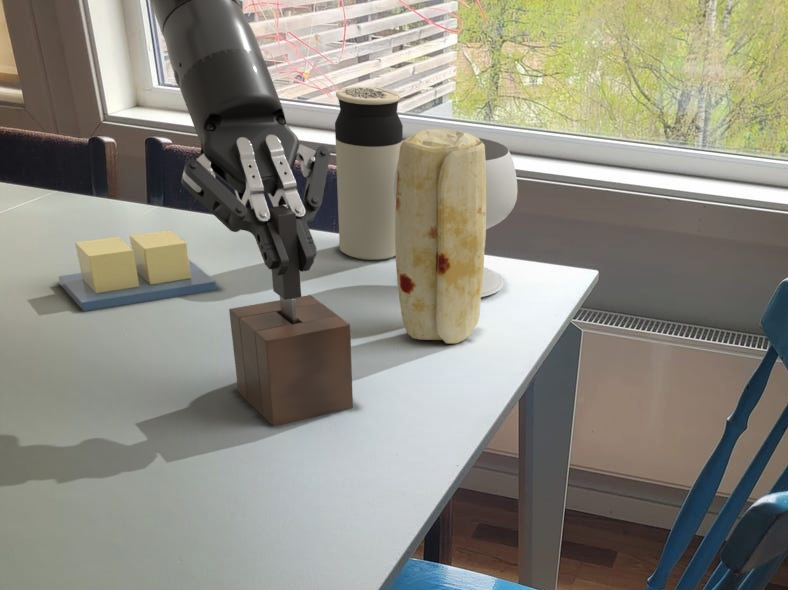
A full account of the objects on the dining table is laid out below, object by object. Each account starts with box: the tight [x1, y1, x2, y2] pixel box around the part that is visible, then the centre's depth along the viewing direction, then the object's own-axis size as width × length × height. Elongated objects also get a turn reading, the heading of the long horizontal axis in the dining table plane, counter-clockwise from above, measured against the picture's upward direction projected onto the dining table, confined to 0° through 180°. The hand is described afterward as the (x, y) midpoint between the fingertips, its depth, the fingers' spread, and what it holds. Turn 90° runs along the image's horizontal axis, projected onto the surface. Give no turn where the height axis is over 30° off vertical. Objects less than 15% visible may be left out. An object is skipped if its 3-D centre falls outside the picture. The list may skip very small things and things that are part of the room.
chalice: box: [394, 137, 519, 298], centre depth 114 cm, size 14×14×15 cm
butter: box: [58, 229, 217, 312], centre depth 112 cm, size 15×9×5 cm, turn 123°
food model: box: [395, 128, 487, 345], centre depth 100 cm, size 10×7×20 cm
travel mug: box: [334, 86, 404, 261], centre depth 121 cm, size 8×8×18 cm
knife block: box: [228, 294, 354, 427], centre depth 90 cm, size 8×8×8 cm
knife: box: [268, 206, 302, 324], centre depth 88 cm, size 2×3×17 cm, turn 33°
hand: (295, 267), depth 84 cm, fingers closed on knife, 1 cm apart
